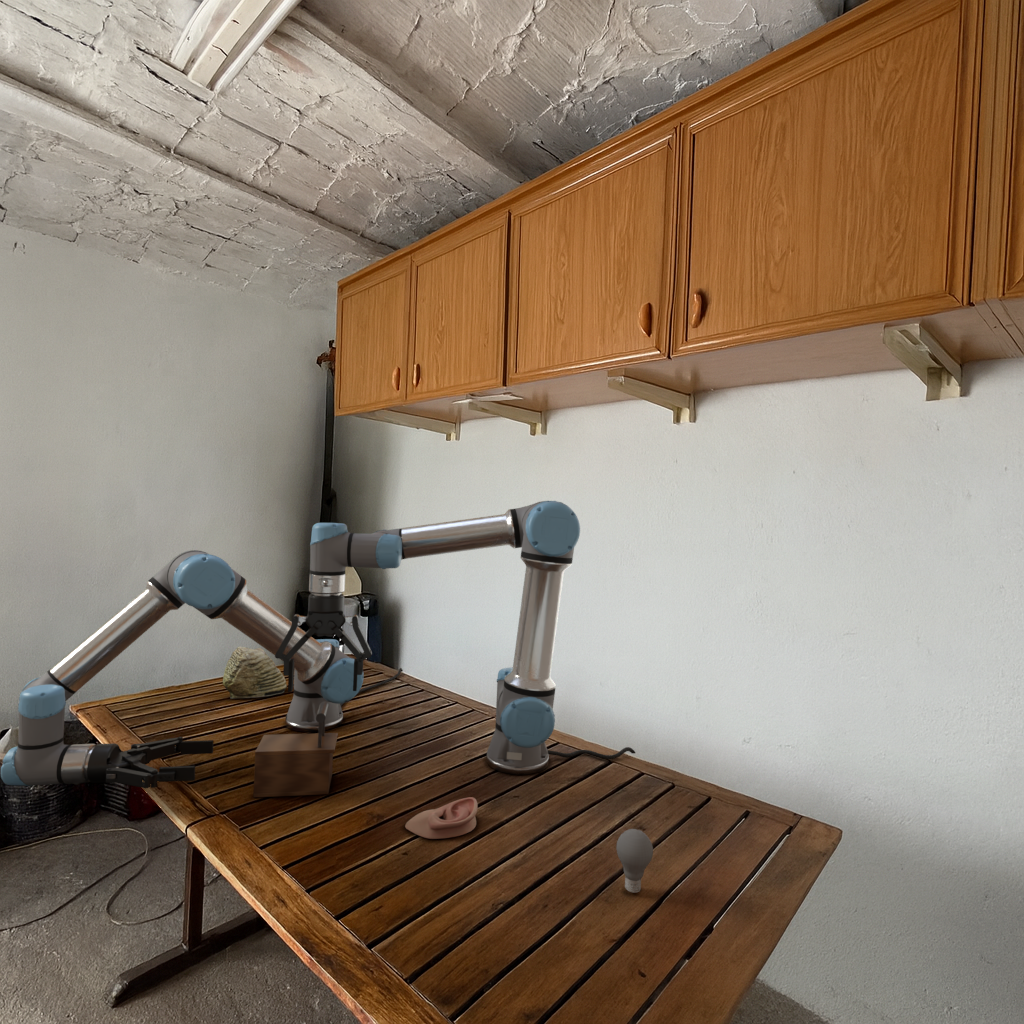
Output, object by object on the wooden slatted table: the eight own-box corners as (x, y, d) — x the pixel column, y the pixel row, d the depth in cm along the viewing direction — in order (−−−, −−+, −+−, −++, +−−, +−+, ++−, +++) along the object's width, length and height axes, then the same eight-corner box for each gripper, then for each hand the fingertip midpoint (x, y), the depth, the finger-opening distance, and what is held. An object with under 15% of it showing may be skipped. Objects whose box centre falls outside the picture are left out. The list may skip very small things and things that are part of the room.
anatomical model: (399, 813, 120) (420, 787, 131) (398, 834, 120) (419, 806, 131) (467, 823, 117) (482, 796, 128) (466, 845, 117) (481, 815, 128)
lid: (337, 736, 144) (339, 700, 144) (334, 753, 135) (335, 714, 135) (263, 738, 141) (265, 701, 141) (255, 755, 132) (256, 716, 132)
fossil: (218, 695, 195) (220, 647, 195) (278, 685, 208) (279, 640, 207) (228, 703, 189) (230, 653, 188) (289, 692, 201) (290, 645, 201)
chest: (332, 774, 144) (333, 736, 144) (328, 794, 135) (329, 753, 135) (262, 777, 142) (263, 738, 141) (253, 797, 132) (255, 756, 132)
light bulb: (610, 879, 108) (613, 822, 108) (644, 879, 109) (647, 822, 109) (619, 902, 102) (622, 840, 102) (655, 901, 103) (658, 840, 103)
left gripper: (118, 756, 143) (218, 753, 147) (62, 811, 118) (185, 805, 122) (119, 723, 143) (219, 721, 147) (63, 771, 118) (186, 766, 122)
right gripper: (263, 595, 132) (259, 696, 133) (384, 596, 137) (380, 694, 138) (269, 589, 140) (266, 685, 140) (384, 591, 145) (381, 683, 145)
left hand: (204, 759), depth 135 cm, fingers open, 13 cm apart
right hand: (323, 689), depth 139 cm, fingers open, 13 cm apart
